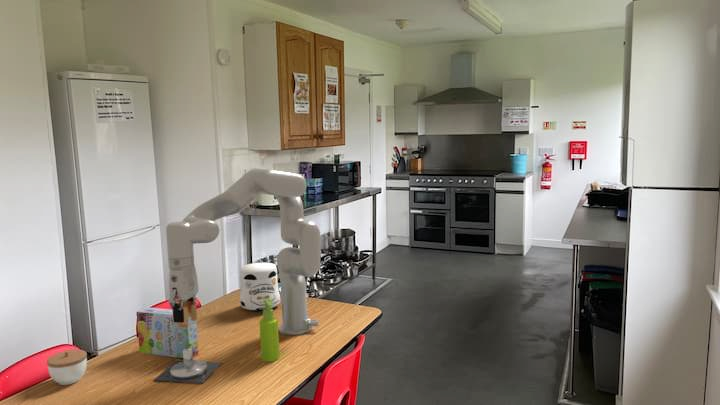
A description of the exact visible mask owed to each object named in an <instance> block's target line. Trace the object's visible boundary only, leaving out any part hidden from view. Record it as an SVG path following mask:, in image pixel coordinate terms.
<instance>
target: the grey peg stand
mask: <svg viewBox="0 0 720 405" xmlns="http://www.w3.org/2000/svg"><path fill="white" fill-rule="evenodd" d="M222 364H223V361H206V360H205V361H204V360H201V359H194V357H193V355H192V348H191V347H187V348H184V349H183V358H182V360H181V359H177V360H175V361H174V362H173V363H172V364H170V365H169V366H168V367H167V368H166V369H164V370H163V371H162V372H161V373H160V374H158V375H157V377H155V378H154V379H153V382H157V383H158V382H161V383H162V382H163V383H179V384H197V385H198V384H201V385H202V384H204V383H205V382H206V381H207V380H208V379H209V378H210V377H211V376H212V375H213V374H214V373H215V371H216V370H218V368H219V367H220V366H221V365H222Z"/></svg>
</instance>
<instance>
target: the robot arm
mask: <svg viewBox="0 0 720 405" xmlns="http://www.w3.org/2000/svg"><path fill="white" fill-rule="evenodd" d="M306 189H307V182H306V180H305V178H304V177H303V175H301V174H300V173H299V174H298V173H292V172H286V171H281V170H274V169H265V168H263V169H262V168H254V169H251V170H248V171H247V172H246V173H244V174H243V175H241V177H240V178H239V179H238V180H237V181H235V182H234V183H233V184H232V185H231V186H230V187H228V188H227V189H226V190H225V191H224V192H222V193H220V194H218V195H216V196H214V197H213V198H211V199H209V200H207V201H204V202H203V203H201V204H199V205H198V206H197V207H196V208H194V209H193V210H192V211H191V212H189V213H188V214H187V215H186V216H185V217H184V219H182V221H174V222H173V221H172V222H169V223H168V224H167V225H166V226H165V227H166V228H165V233H166V234H165V235H166V236H165V237H166V246H167V248H166V250H167V259H168V261H167V262H168V263H167V264H168V269H169V273H168V289H169V290H168V291H169V299H168V304H169V306H170V308H171V310H173V320H174V322H178V323H183V322H184V310H183V309H182V306H183V301H195V302H196V300H197V297H196V295H197V294H198V293H199V284H198V275H197V270H196V269H197V268H196V265H195V255H194V245H195V244H208V243H212V242H214V241H215V240H216V239H217V238H218V236H220V227H219V225H218V224H217V222H216V221H217V220H219V219H222V218H225V217H229V216H234V215H237V214H239V213H241V212H243V211H244V210H245V209H246V208H247V207H248V206H249V205H250V204H251V203H252V202H253V201H254V200H256V199H257V198H258V197H259V196H260V195H271V196H273V197H274V198H275V199H276V201H277V202H278V205H279V209H280V238H281V240H282V241H283V242H284V243H285V244H289V245H293V246H298V247H293V246H289V247H287V246H286V247H285V248H283V249H280V251H279V252H278V254H277V256H276V268H277V272H278V274H279V281H280V296H281V297H280V302H281V320H282V324H280V325H278V333H279V332H280V333H281V334H283V335H287V336H298V335H303V334H306V333H308V332H310V331H311V330H312V329H313V327H319V321H318V320H317V319H311V318H310V315H308V300H307V299H308V297H307V282H306V278H310V277H314V276H315V275H316V274H317V273H318V272H319V270H320V266H321V247H322V246H321V243H322V242H321V241H322V240H321V231H320V227H318V225H317V224H316V223H315V222H313V221H311V220H305V216H304V204H303V201H302V198H301V197H302V196H303V195H304V194H305V192H306ZM177 302H180V303H179V305H178V304H177Z"/></svg>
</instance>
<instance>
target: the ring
mask: <svg viewBox="0 0 720 405" xmlns="http://www.w3.org/2000/svg"><path fill="white" fill-rule="evenodd" d="M176 303H177V304H178V305H179V303H180V302H176ZM182 309H183V310H184V322H183V323H178V322H174V320H173V322H174V323H176V324H185V323H189V322H188V317H191V320H192V321H195V320H196V321H198V320H197V319H198V311H197V302H196V301H183V306H182Z"/></svg>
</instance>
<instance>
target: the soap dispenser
mask: <svg viewBox="0 0 720 405" xmlns="http://www.w3.org/2000/svg"><path fill="white" fill-rule="evenodd" d="M264 302H265V309H264V310H263V311H262V317H263V318H261V319H259V337H260V338H259V339H260V352H261V354H260V356H261V357H260V358H261V361H263V362H266V363H271V362H272V363H273V362H276V361H278V360H279V359H280V344H279V343H280V342H279V341H280V340H279V322H278V318H277V317H274V308H273V309H271V308H270V306H273V305H274V304H273V302H272V301H271V300H270V299H267V300H264Z"/></svg>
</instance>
